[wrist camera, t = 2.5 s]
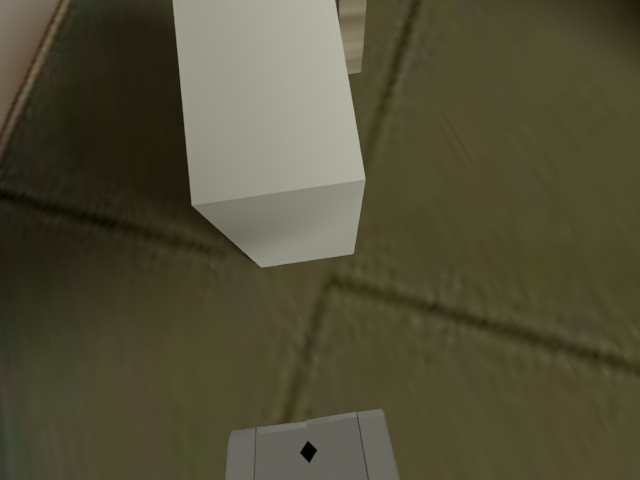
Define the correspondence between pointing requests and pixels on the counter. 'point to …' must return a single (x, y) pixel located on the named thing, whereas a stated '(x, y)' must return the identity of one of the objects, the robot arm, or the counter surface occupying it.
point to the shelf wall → (352, 31)
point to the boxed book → (270, 126)
